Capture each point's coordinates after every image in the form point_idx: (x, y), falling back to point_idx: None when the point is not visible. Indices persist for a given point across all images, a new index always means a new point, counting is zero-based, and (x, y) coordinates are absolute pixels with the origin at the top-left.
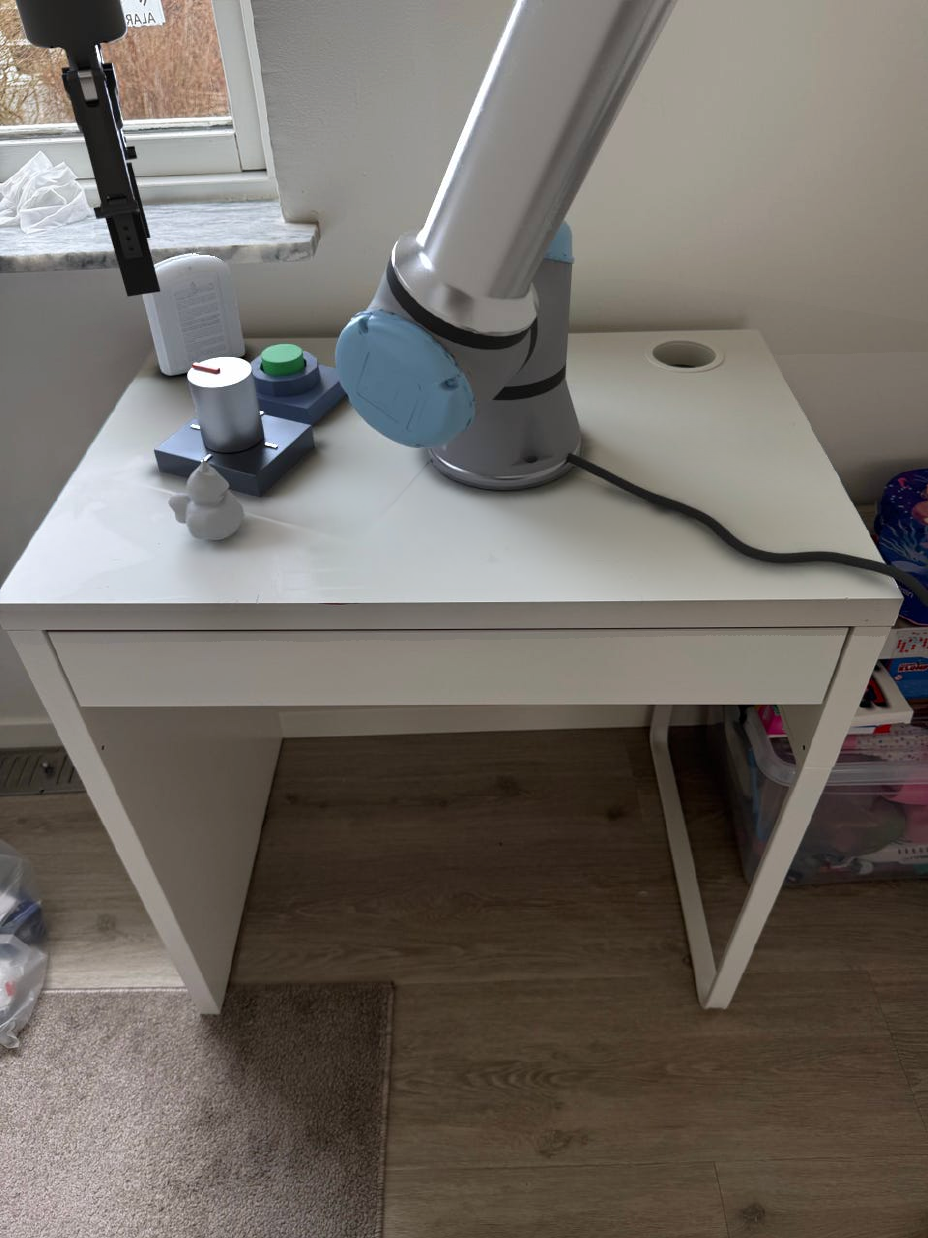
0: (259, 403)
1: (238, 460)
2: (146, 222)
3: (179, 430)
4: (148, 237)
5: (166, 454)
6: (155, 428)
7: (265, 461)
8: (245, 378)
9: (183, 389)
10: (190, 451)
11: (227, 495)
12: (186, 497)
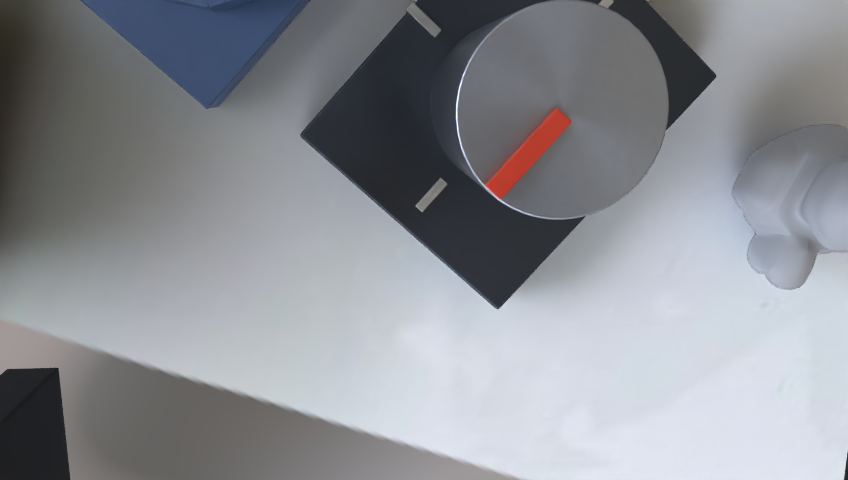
0: (300, 5)
1: None
2: (20, 408)
3: (426, 241)
4: (58, 380)
5: (526, 279)
6: (276, 293)
7: (662, 40)
8: (641, 33)
9: (72, 208)
10: (543, 221)
11: (834, 156)
12: (808, 250)
